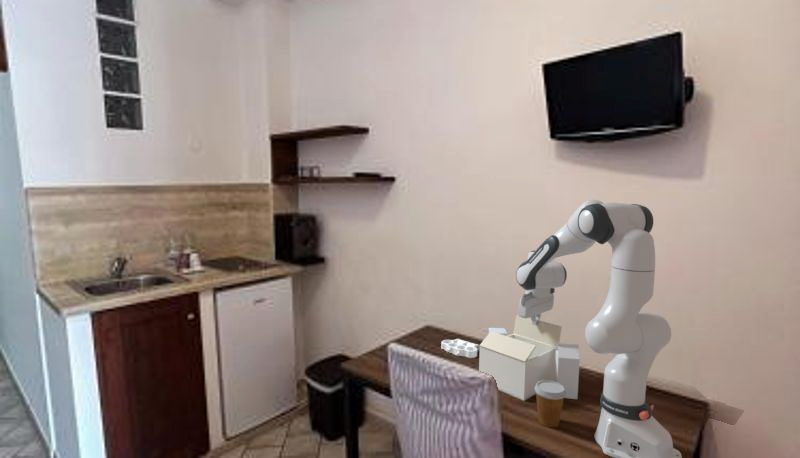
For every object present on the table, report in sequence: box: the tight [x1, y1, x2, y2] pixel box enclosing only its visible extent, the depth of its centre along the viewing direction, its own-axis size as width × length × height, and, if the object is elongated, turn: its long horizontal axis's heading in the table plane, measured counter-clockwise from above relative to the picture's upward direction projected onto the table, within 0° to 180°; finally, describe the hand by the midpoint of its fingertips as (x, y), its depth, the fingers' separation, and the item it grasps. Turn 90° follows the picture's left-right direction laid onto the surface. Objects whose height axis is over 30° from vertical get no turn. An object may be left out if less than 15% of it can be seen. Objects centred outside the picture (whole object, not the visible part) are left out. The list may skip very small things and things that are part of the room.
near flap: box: [479, 331, 536, 362], centre depth 165 cm, size 20×8×1 cm, turn 42°
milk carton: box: [554, 342, 581, 400], centre depth 162 cm, size 7×7×19 cm
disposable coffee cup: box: [535, 381, 566, 428], centre depth 143 cm, size 10×10×12 cm
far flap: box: [512, 314, 563, 347], centre depth 178 cm, size 20×8×1 cm
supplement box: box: [487, 327, 508, 336], centre depth 194 cm, size 7×7×13 cm
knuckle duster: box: [440, 338, 480, 359], centre depth 203 cm, size 3×18×15 cm
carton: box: [478, 333, 557, 402], centre depth 171 cm, size 20×22×14 cm
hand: (535, 324), depth 178 cm, fingers closed
